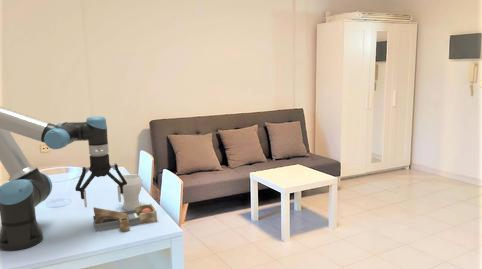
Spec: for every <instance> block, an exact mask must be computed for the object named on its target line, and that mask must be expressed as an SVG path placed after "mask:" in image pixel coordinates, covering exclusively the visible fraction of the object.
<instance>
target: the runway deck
mask: <svg viewBox="0 0 482 269" xmlns="http://www.w3.org/2000/svg"><path fill="white" fill-rule="evenodd" d="M120 212H123V213H127V215H128V217H129V227H134V226H139V225H142V224H141V222H140V217H138V215H137V214H136V209H134V210H123V211H122V210H121V211H120ZM92 219H93V225H94V229H95V233H99V232H100V233H101V232H104V231H105V232H106V231H111V230H116V229H120V223H119V220H116V219H110V218H104V217H103V223H100V224H97V223H96V217H95V215H93V218H92Z"/></svg>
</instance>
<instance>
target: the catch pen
mask: <svg viewBox="0 0 482 269" xmlns="http://www.w3.org/2000/svg"><path fill="white" fill-rule="evenodd" d="M145 208H149V209H150V210H151V211H152V212H147V213H142V210H143V209H145ZM136 214H137V215H138V217H140V222H141V224H140V225H145V224H150V223H156V222H158V217H157V215H158V214H157V210H156V209H155V207H154V206H153V204H152V203H148V204H141V205H140V206H136Z"/></svg>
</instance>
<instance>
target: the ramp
mask: <svg viewBox="0 0 482 269" xmlns="http://www.w3.org/2000/svg"><path fill="white" fill-rule="evenodd" d="M93 213H94V216H95V217H96V223H97V224H100V223H103V217H104V218H110V219H116V220H119V219H120V218H126V217H128V215H127V213H123V212H121V211H116V210H110V209H104V208H99V207H94V208H93ZM128 219H129V217H128Z"/></svg>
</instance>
